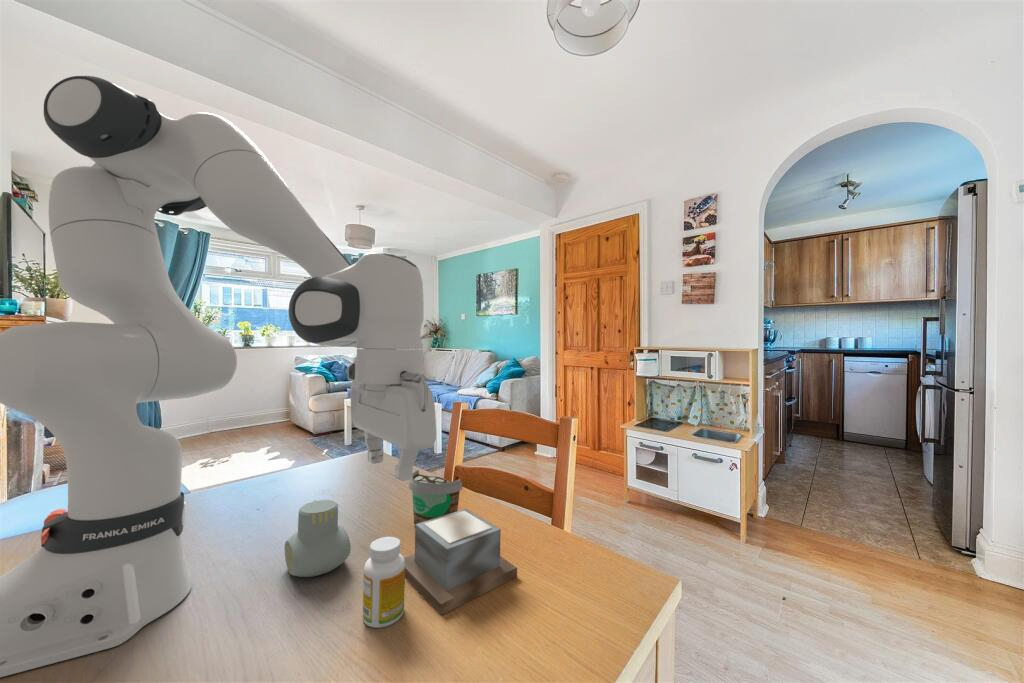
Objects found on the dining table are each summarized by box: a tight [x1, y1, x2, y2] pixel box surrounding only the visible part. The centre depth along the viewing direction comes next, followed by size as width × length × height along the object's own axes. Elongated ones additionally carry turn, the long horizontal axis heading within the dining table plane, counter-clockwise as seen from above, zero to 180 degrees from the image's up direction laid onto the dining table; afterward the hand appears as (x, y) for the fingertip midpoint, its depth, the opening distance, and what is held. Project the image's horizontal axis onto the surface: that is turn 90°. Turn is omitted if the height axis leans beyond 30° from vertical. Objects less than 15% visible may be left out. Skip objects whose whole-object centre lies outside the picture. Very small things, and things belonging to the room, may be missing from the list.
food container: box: [408, 469, 463, 525], centre depth 77 cm, size 12×6×10 cm, turn 62°
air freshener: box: [284, 499, 351, 578], centre depth 63 cm, size 11×8×10 cm
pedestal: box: [404, 508, 518, 616], centre depth 62 cm, size 14×14×8 cm
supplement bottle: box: [362, 536, 406, 629], centre depth 52 cm, size 5×5×10 cm
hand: (388, 470), depth 52 cm, fingers open, 8 cm apart
